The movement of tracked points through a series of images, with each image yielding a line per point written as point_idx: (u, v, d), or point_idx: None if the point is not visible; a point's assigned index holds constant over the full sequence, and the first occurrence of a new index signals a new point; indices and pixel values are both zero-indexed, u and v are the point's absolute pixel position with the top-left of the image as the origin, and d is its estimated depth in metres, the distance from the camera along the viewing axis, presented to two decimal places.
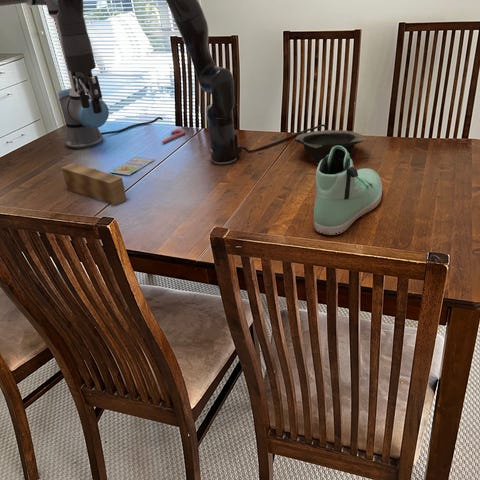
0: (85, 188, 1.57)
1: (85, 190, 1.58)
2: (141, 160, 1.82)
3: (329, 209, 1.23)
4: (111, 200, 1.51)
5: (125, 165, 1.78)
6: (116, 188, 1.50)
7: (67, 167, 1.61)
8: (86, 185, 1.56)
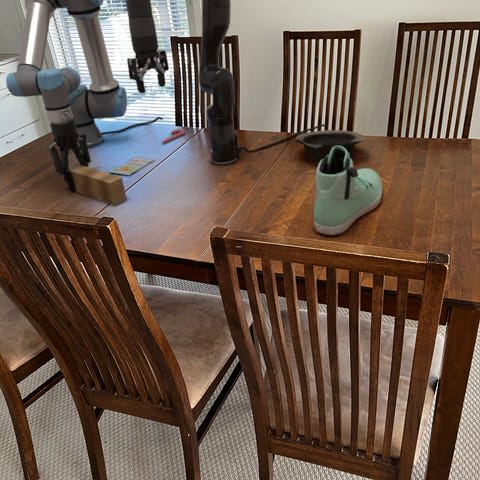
0: (85, 188, 1.57)
1: (85, 190, 1.58)
2: (141, 160, 1.82)
3: (329, 209, 1.23)
4: (111, 200, 1.51)
5: (125, 165, 1.78)
6: (116, 188, 1.50)
7: None
8: (86, 185, 1.56)
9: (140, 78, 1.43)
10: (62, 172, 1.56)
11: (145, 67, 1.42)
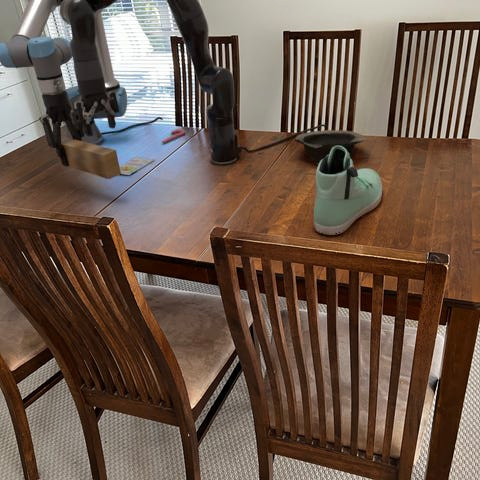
0: (78, 162, 1.53)
1: (78, 164, 1.54)
2: (141, 160, 1.82)
3: (329, 209, 1.23)
4: (105, 174, 1.47)
5: (125, 165, 1.78)
6: (110, 161, 1.45)
7: None
8: (79, 159, 1.52)
9: (86, 121, 1.38)
10: (54, 145, 1.51)
11: (92, 110, 1.37)
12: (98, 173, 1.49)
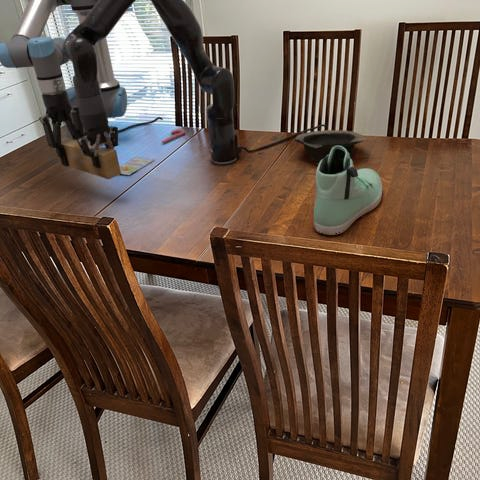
0: (78, 162, 1.53)
1: (78, 164, 1.54)
2: (141, 160, 1.82)
3: (329, 209, 1.23)
4: (105, 174, 1.47)
5: (125, 165, 1.78)
6: (110, 161, 1.45)
7: None
8: (79, 159, 1.52)
9: (95, 155, 1.43)
10: (54, 145, 1.51)
11: (97, 143, 1.42)
12: (98, 173, 1.49)
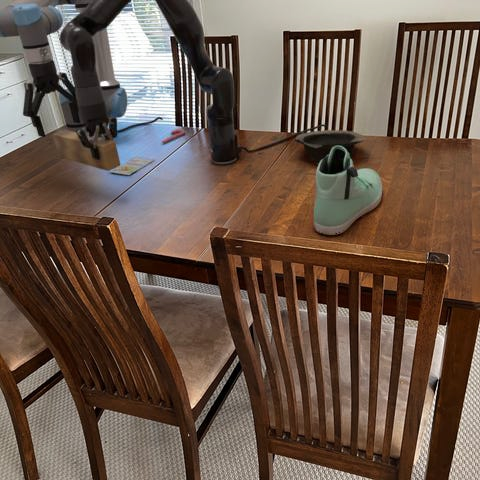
0: (77, 154, 1.51)
1: (77, 157, 1.52)
2: (141, 160, 1.82)
3: (329, 209, 1.23)
4: (104, 166, 1.45)
5: (125, 165, 1.78)
6: (109, 152, 1.44)
7: (58, 133, 1.55)
8: (78, 151, 1.50)
9: (94, 146, 1.42)
10: (29, 114, 1.45)
11: (96, 135, 1.41)
12: (97, 165, 1.47)
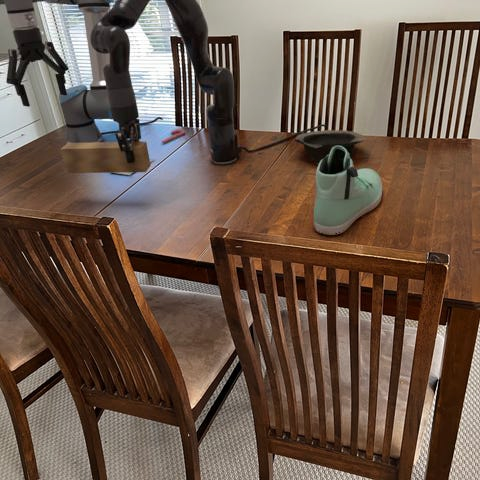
0: (99, 164, 1.43)
1: (98, 166, 1.44)
2: None
3: (329, 209, 1.23)
4: (140, 167, 1.42)
5: None
6: (144, 153, 1.42)
7: (67, 147, 1.43)
8: (102, 160, 1.43)
9: (131, 149, 1.38)
10: (13, 82, 1.41)
11: (132, 136, 1.37)
12: (130, 169, 1.43)
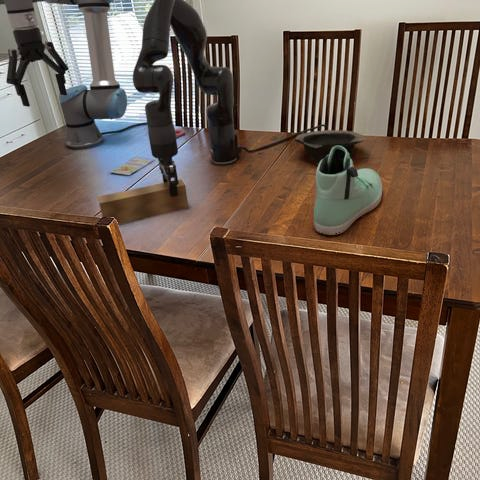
0: (142, 210, 1.41)
1: (140, 213, 1.41)
2: (141, 160, 1.82)
3: (329, 209, 1.23)
4: (184, 204, 1.45)
5: (125, 165, 1.78)
6: None
7: (104, 200, 1.37)
8: (144, 205, 1.41)
9: None
10: (13, 82, 1.41)
11: None
12: (173, 208, 1.45)
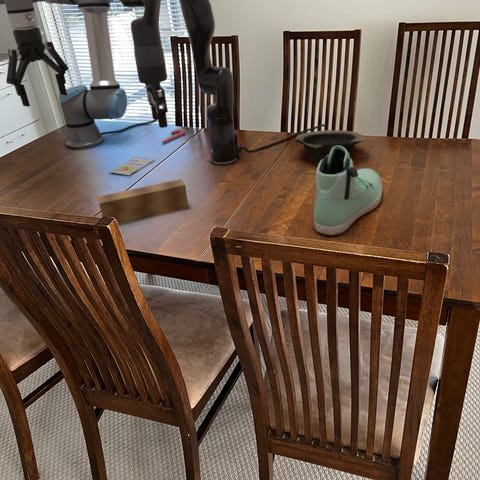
0: (142, 210, 1.41)
1: (140, 213, 1.41)
2: (141, 160, 1.82)
3: (329, 209, 1.23)
4: (184, 204, 1.45)
5: (125, 165, 1.78)
6: None
7: (104, 200, 1.37)
8: (144, 205, 1.41)
9: None
10: (13, 82, 1.41)
11: None
12: (173, 208, 1.45)
